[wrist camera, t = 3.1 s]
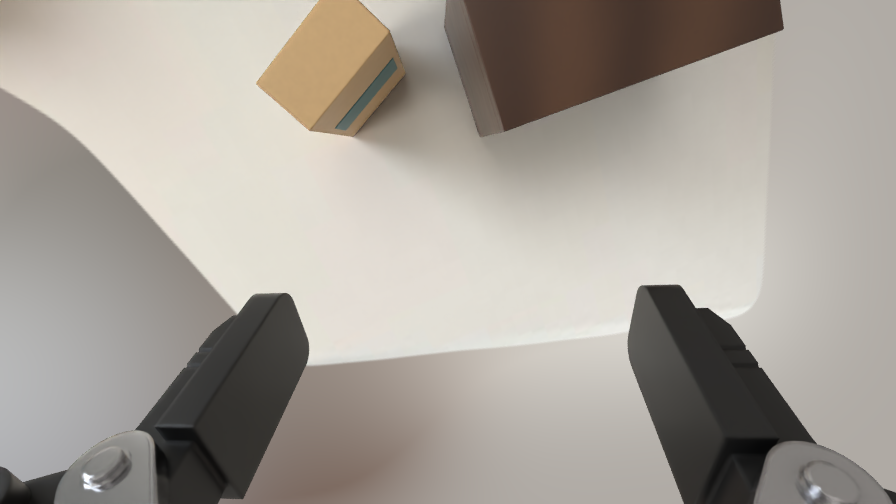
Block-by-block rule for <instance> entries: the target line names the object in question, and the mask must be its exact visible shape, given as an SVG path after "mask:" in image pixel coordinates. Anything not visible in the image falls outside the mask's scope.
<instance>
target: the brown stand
mask: <svg viewBox="0 0 896 504" xmlns="http://www.w3.org/2000/svg"><path fill="white" fill-rule="evenodd" d="M444 28H445V31H446V34H447V37H448V40H449V43H450V46H451V49H452V52H453V55H454V59H455V62H456V65H457V68H458V71H459V74H460V77H461V80H462V83H463V86H464V89H465V93H466V96H467V99H468V102H469V105H470V108H471V111H472V114H473V117H474V120H475V124H476V127H477V130H478V133H479V136H480V137H484V136H488V135H492V134H497V133H501V132H505V131H508V130H510V129H513V128H516V127H519V126H521V125H524V124H527V123H530V122H532V121H535V120H538V119H541V118H543V117H546V116H549V115H551V114H554V113H557V112H560V111H562V110H565V109H568V108H571V107H573V106H576V105H579V104H582V103H584V102H587V101H590V100H592V99H595V98H598V97H601V96H603V95H606V94H609V93H612V92H614V91H617V90H620V89H623V88H625V87H628V86H631V85H633V84H636V83H639V82H642V81H644V80H647V79H650V78H653V77H655V76H658V75H661V74H664V73H666V72H669V71H672V70H675V69H677V68H680V67H683V66H685V65H688V64H691V63H694V62H696V61H699V60H702V59H705V58H707V57H710V56H713V55H716V54H718V53H721V52H724V51H726V50H729V49H732V48H735V47H737V46H740V45H743V44H746V43H748V42H751V41H754V40H757V39H759V38H762V37H765V36H768V35H770V34H773V33H776V32H778V31H781V30H783V29H784V27H783V20H782V12H781V5H780V0H446V11H445V25H444Z"/></svg>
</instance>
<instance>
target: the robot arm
mask: <svg viewBox="0 0 896 504" xmlns="http://www.w3.org/2000/svg"><path fill="white" fill-rule="evenodd" d="M628 354H629V359H630V363H631V366H632V369H633V371H634V374H635V376H636V379H637V382H638V384H639V387H640V390H641V392H642V395H643V397H644V400H645V403H646V405H647V408H648V410H649V413H650V416H651V418H652V421H653V423H654V426H655V428H656V431H657V434H658V436H659V439H660V442H661V444H662V447H663V450H664V452H665V455H666V458H667V460H668V463H669V465H670V468H671V471H672V473H673V476H674V478H675V481H676V484H677V486H678V489H679V492H680V494H681V497H682V499H683V502H684V504H896V493H895V492H892V491H889V490H886V489H883V488H882V487H881V486H880V485H879V484H878V482H876V480H875V479H874V478H873V477H872V476H871V475H869V474H868V473H867V472H866V471H865V470H864V469H863V468H861V467H859V465H857V464H856V463H854V462H853V461H851V460H850V459H848V458H846V457H845V456H843V455H841V454H839V453H837V452H835V451H833V450H831V449H829V448H826V447H824V446H821V445H817V444H816V442H815V441H814V440H813V439H812V437H811V436H810V435H809V433H808V432H807V431H806V429H805V428H804V426H803V425H802V423H801V422H800V421H799V420H798V418H797V416H796V415H795V414H794V412H793V411H792V410H791V408H790V407H789V405H788V404H787V403H786V401H785V400H784V399H783V397H782V396H781V394H780V393H779V391H778V390H777V389H776V387H775V386H774V384H773V383H772V382H771V380H770V379H769V378H768V376H767V375H766V373H765V372H764V371H763V369H762V368H759V367H758V362H757V361H756V359H755V358H754V357H753V355H752V354H751V352H750V351H749V350H746V348H745V344H744V343H743V341H742V340H741V339H740V337H739V336H738V335H737V333H736V332H735V330H734V329H733V328H732V326H731V325H730V324H729V323H727V322H726V321H725V320H723V319H722V318H721V317H719V316H718V315H716V314H715V313H714V312H712V311H711V310H710V309H708V308H695V306H694V305H693V303H692V302H691V300H690V299H689V297H688V296H687V294H686V292H685V291H684V289H683V288H682V287H681V286H680V285H642V286H640V287H639V288H638V291H637V294H636V299H635V304H634V309H633V314H632V319H631V324H630V329H629V335H628ZM308 356H309V342H308V338H307V335H306V333H305V330H304V328H303V325H302V322H301V320H300V317H299V314H298V312H297V309H296V306H295V304H294V301H293V299H292V297H291V296H290V295H289V294H287V293H270V294H255V295H253V296H252V297H251V298H250V299H249V300H248V302H247V303H246V304H245V306H244V307H243V308H242V310H241V311H240V312H239V314H238V315H235V316H232V317H231V318H229V319H228V320H227V321H225V322H224V323H223V324H221V325H220V326H219V327H218V328H216V329H215V330H214V331H213V332H212V333H211V334H210V335H209V337H208V338H207V339H206V341H205V342H204V343H203V344H202V346H201V347H200V348H199V352H198V353H195V355H194V356H193V357H192V358H191V360H190V361H189V362H188V363H187V368H184V369H183V370H182V371H181V372H180V374H179V375H178V376H177V378H176V379H175V380H174V381H173V383H172V384H171V386H169V388H168V389H167V390H166V392H165V393H164V394H163V395H162V397H161V398H160V399H159V400H158V402H157V403H156V405H155V406H154V407H153V408H152V410H151V411H150V412H149V413H148V415H147V416H146V417H145V418H144V420H143V421H142V422H141V423H140V425H139V426H138V427H137V428H136V429H135V431H126V432H122V433H119V434H116V435H114V436H111V437H109V438H107V439H105V440H103V441H101V442H100V443H98V444H96V445H95V446H93V447H92V448H91V449H89V450H88V451H86V452H85V453H84V454H83V455H82V456H81V457H79V458H78V459H77V460H76V461H75V462H74V463H73V464H72V465H71V466H70V468H69V469H68V470H65V471H61V472H58V473H54V474H51V475H47V476H44V477H40V478H37V479H33V480H29V481H26V482H22V481H20V480H19V479H18V478H17V477H16V476H14V475H13V474H12V473H11V472H10V471H8V470H7V469H6V468H3V467H0V504H218V502H219V500H220V498H226V499H243V498H244V496H245V494H246V491H247V489H248V487H249V485H250V483H251V481H252V479H253V477H254V474H255V473H256V470H257V468H258V466H259V464H260V462H261V459H262V458H263V455H264V453H265V451H266V449H267V447H268V445H269V443H270V440H271V438H272V436H273V434H274V432H275V430H276V428H277V426H278V424H279V421H280V419H281V417H282V415H283V413H284V411H285V409H286V407H287V404H288V402H289V400H290V398H291V396H292V394H293V391H294V390H295V387H296V385H297V383H298V381H299V379H300V377H301V375H302V372H303V370H304V368H305V366H306V364H307V361H308Z"/></svg>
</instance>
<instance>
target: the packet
mask: <svg viewBox="0 0 896 504" xmlns="http://www.w3.org/2000/svg"><path fill="white" fill-rule="evenodd" d="M405 74H406V73H405V70H404V67H403V65H402V62H401V60H400V57H399V54H398V52H397V49H396V46H395V44H394V41H393V39H392V36H391V33H390V31H389V30H388V29H387V28H386V27H385V26H384V25H383V24H382V23H381V22H380V21H379V20H378V19H377V18H376V17H375V16H374V15H373V14H372V13H371V12H370V11H369V10H368V9H367V8H366V7H365V6H364V5H363V4H362V3H361V2H360V1H359V0H319V1H318V2H317V4H316V5H315V6H314V8H313V9H312V10H311V12H310V13H309V14H308V16H307V17H306V18H305V19H304V21H303V22H302V23H301V25H300V26H299V27H298V29H297V30H296V31H295V33H294V34H293V35H292V36H291V38H290V39H289V40H288V42H287V43H286V44H285V46H284V47H283V48H282V50H281V51H280V52H279V53H278V55H277V56H276V57H275V59H274V60H273V61H272V63H271V64H270V65H269V67H268V68H267V69H266V70H265V72H264V73H263V74H262V76H261V77H260V78H259V80H258V81H257V82H256V84H257V85H258V86H259V87H260V88H261V89H262V90H264V91H265V92H266V93H267V94H268V95H269V96H270V97H271V98H273V99H274V100H275V101H276V102H277V103H278V104H279V105H281V106H282V107H283V108H284V109H285V110H286V111H287V112H289V113H290V114H291V115H292V116H293V117H294V118H295V119H296V120H298V121H299V122H300V123H301V124H302V125H303V126H304V127H306V128H307V129H308V130H309V131H316V132H323V133H330V134H337V135H344V136H351V137H353V136H354V135H355V134H356V133H357V131H358V130H359V129H360V128H361V127H362V125H363V124H364V123H365V122H366V121H367V119H368V118H369V117H370V116H371V115H372V113H373V112H374V111H375V110H376V109H377V107H378V106H379V105H380V104H381V103H382V101H383V100H384V99H385V98H386V97H387V95H388V94H389V93H390V92H391V91H392V89H393V88H394V87H395V86H396V85H397V83H398V82H399V81H400V80H401V79H402V78H403V76H404V75H405Z"/></svg>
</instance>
